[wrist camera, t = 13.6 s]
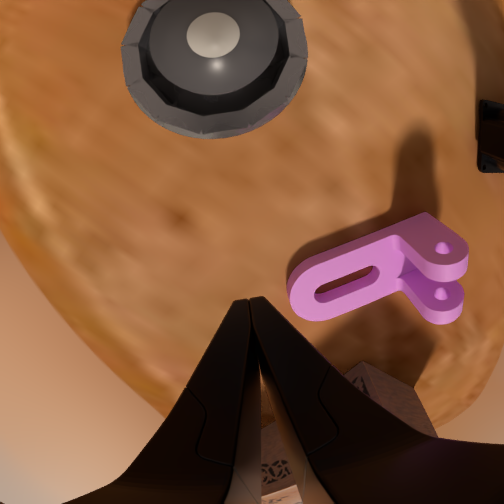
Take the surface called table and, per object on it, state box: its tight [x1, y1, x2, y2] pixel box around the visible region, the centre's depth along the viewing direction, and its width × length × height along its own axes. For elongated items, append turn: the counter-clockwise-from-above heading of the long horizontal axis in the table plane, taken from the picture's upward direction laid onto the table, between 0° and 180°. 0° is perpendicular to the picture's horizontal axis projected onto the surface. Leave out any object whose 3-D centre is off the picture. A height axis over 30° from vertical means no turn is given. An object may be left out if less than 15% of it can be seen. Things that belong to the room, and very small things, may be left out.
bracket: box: [287, 211, 469, 324], centre depth 20 cm, size 13×6×7 cm, turn 111°
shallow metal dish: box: [121, 0, 308, 139], centre depth 14 cm, size 11×11×2 cm
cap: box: [149, 0, 279, 96], centre depth 12 cm, size 6×6×4 cm
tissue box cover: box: [261, 361, 438, 504], centre depth 31 cm, size 26×14×10 cm, turn 140°
